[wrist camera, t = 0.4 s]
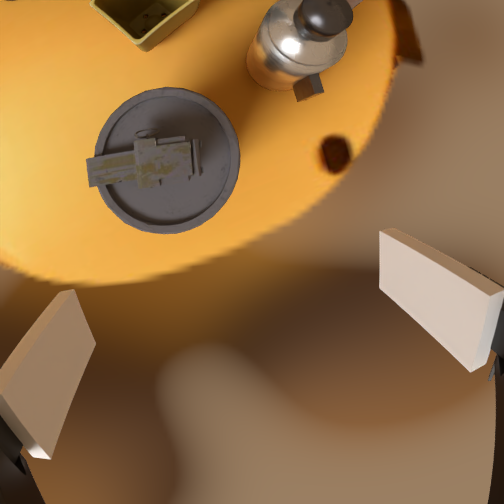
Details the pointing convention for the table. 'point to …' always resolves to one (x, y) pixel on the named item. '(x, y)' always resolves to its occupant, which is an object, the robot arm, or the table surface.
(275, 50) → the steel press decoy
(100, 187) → the canister
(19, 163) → the table surface
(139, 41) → the flower pot
